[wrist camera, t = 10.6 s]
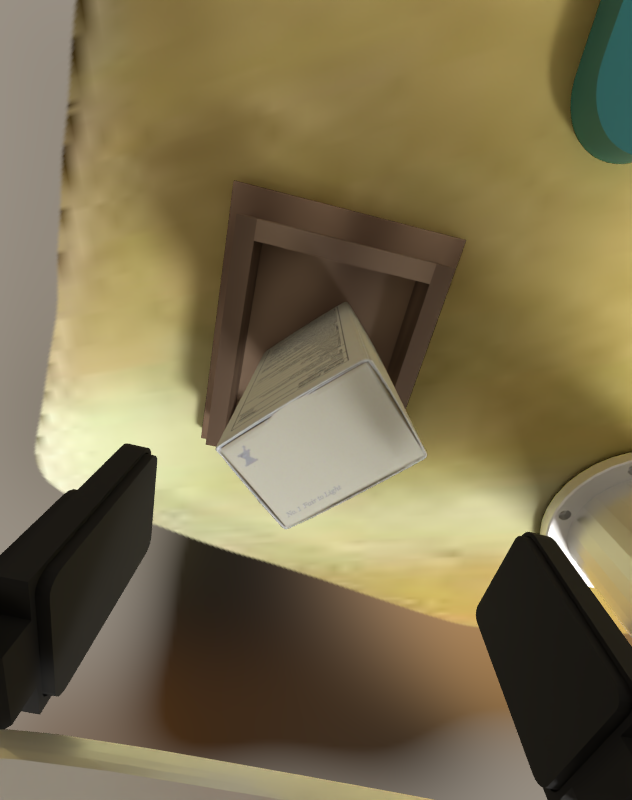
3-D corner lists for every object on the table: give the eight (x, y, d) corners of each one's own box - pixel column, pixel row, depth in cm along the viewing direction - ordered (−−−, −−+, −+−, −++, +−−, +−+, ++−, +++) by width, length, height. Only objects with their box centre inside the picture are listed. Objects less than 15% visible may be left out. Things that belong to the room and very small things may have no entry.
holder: (460, 239, 22) (486, 241, 19) (380, 467, 29) (388, 502, 25) (237, 182, 21) (219, 172, 18) (205, 430, 28) (187, 461, 24)
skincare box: (300, 404, 26) (281, 537, 15) (261, 349, 24) (206, 450, 13) (384, 355, 24) (434, 462, 13) (348, 294, 23) (369, 355, 12)
